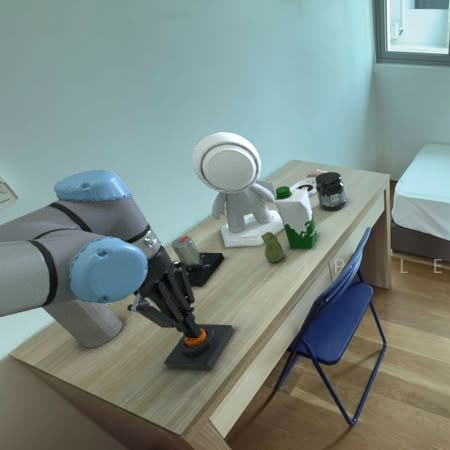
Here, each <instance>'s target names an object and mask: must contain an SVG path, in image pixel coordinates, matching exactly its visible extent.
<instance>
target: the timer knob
mask: <svg viewBox="0 0 450 450" xmlns="http://www.w3.org/2000/svg"><path fill="white" fill-rule="evenodd" d="M170 245H171V248H172V249H173V251H174V253H175V255H177V258H178V259H179V261H185V262H186V270H187V271H194V270H197V269H199V268H200V267H202V266H203V264H204V261H203V259H202V257H201V255H200V253H199V252H200V251H199V250H198V248H197V246H196V243H194V241H193V239H192V237H191V236H188V235H184V236H181V237H178V238H176V239H174V240H173V241H172V242H171V244H170Z"/></svg>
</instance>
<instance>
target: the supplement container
mask: <svg viewBox="0 0 450 450" xmlns="http://www.w3.org/2000/svg"><path fill="white" fill-rule="evenodd" d="M315 181H316V184H317V185H316V190H317V192H316V194H317V199H318V204H319V207H320V208H321V209H323V210H325V211H336V210H337V211H338V210H340V209H341V208H343V207H344V206H345V205H346V203H347V199H346V192H345V187H344V186H345V184H344V181H342V175H341V174H340V173H339V172H336V171H326V173H322V174H320V175H318V176H317V177H316V179H315Z"/></svg>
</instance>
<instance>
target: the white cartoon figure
mask: <svg viewBox="0 0 450 450" xmlns="http://www.w3.org/2000/svg"><path fill="white" fill-rule="evenodd" d="M191 157H192V159H191V161H192V162H191V163H192V167H193V170H194V173H195V175H196V176H197V178H198V179H199V180H200V181H201V183H202V184H204V185H205V186H206V187H208V188H210V189H211V190H213V191H215V192H218V194H217V195H216V197H215V199H214V201H213V204H212V206H211V214H212V217H213V218H214V219H215V220H216V221H219V220H220V217H219V216H220V215H222V216H225V214H226V220H227V221H226V224H223V225H222V226H221V227H220V233H221V236H222V239H223V243H224V247H225V248H241V247H258V246H259V247H260V246H262V245H263V244H265V242H264V241H263V239H262V237H261V236H262V235H264V234H265V233H266V232H272V233H273V234H274V235H275V236H276V235H278V234H279V232H281V231H283V230H285V228H284V225H283V222H282V219H281V216H280V213H279V211H277V210H273V209H271V210H269V208H268V207H267V205H266V204H265V203H267V202H268V201H270V202H271V204H275V203H274V202H275V200H276V199H274V196H273V194H272V193H271V192H270V191H269V190H267V189H266V188H264V187H262V186H261V185H259V184H256V183H255V182H256V180H257V179H259V177H260V175H261V169H262V162H261V158H260V155H259V152H258V151H257V149H256V147H255V146H254V145H253V144H252V143H251V142H250V141H249V140H248V139H246V138H244V136H241V135H239V134H236V133H233V132H228V131H227V132H225V131H223V132H222V131H221V132H214V133H211V134H209V135H206V136H205V137H203V138H202V139H201V140H200V141H198V143H197V144H196V146H195V147H194V150H193V152H192V156H191ZM256 193H257V194H258V195H260V196H261V197H260V196H258V195H257V194H256ZM225 210H226V211H225ZM225 212H226V213H225Z"/></svg>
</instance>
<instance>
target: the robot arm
mask: <svg viewBox="0 0 450 450" xmlns="http://www.w3.org/2000/svg"><path fill="white" fill-rule="evenodd" d="M53 191H54V193H55V194H56V198H57V200H55V201H53V202H51V203H50V204H48V205H45V206H43V207H41V208H38V209H36V210H34V211H31V212H28V213H26V214H23V215H21V216H18V217H16V218H14V219H12V220H9V221H7V222H5V223H2V224H0V318H3V317H8V316H12V315H15V314H20V313H23V312H29V311H32V310H36V309H37V310H38V309H41V308H42V307H45V306H50V305H54V304H59V303H63V302H67V301H71V300H76V299H80V300H81V301H83V302H88V303H90V302H94V303H105V304H112V303H116V302H120V301H122V300H124V299H126V298H128V297H130V296H131V295H132V294H133V295H134V300H133V303H131V304H128V305H127V307H126V310H127V312H134V313H138V314H140V315H141V316H142V317H144V318H145V319H147V320H149V321H151V322H152V323H154V324H155V325H157V326H158V327H159V328H162V329H163V328H164V329H174V328H175V329H176V331H177V332H178V333H183V335H185V336H186V338H199V336H200V335H201V333H202V331H201V330H200V328H199V327H198V325H197V324H198V323H196V316H195V315H194V312H195V306H192V304H194V303H195V302H196V299H195V296H194V292H193V289H192V286H190V283H189V279H188V276H187V273H186V262H185V261H180V260H172V258H171V256H170V255H169V253H168V252H167V250H166V249H165V247H164V246H163V244H162V242H161V240H160V239H159V237H158V236H157V234H156V233H155V231H154V229H153V227H152V226H151V225H150V223H149V222H148V220H147V219H146V216H144V214H143V212H142V210H141V208H140V207H139V206H138V203H137V202H136V200H135V198H134V197H133V193H132V192H131V191H130V190H129V188H128V187H127V185H126V184H125V183H124V181H123V180H122V179H121V178H120V177H119V176H118V174H117V173H115V172H114V171H111V170H108V169H107V170H106V169H90V170H85V171H81V172H77V173H73V174H71V175H68V176H65V177H64V178H63V179H60V180H58V181H56V183H54V186H53ZM146 298H147V299H149V301H150V302H153V303H154V305H155V306H156V307H155V306H153V305H151V303H150V302H149V301H148V300H146Z"/></svg>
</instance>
